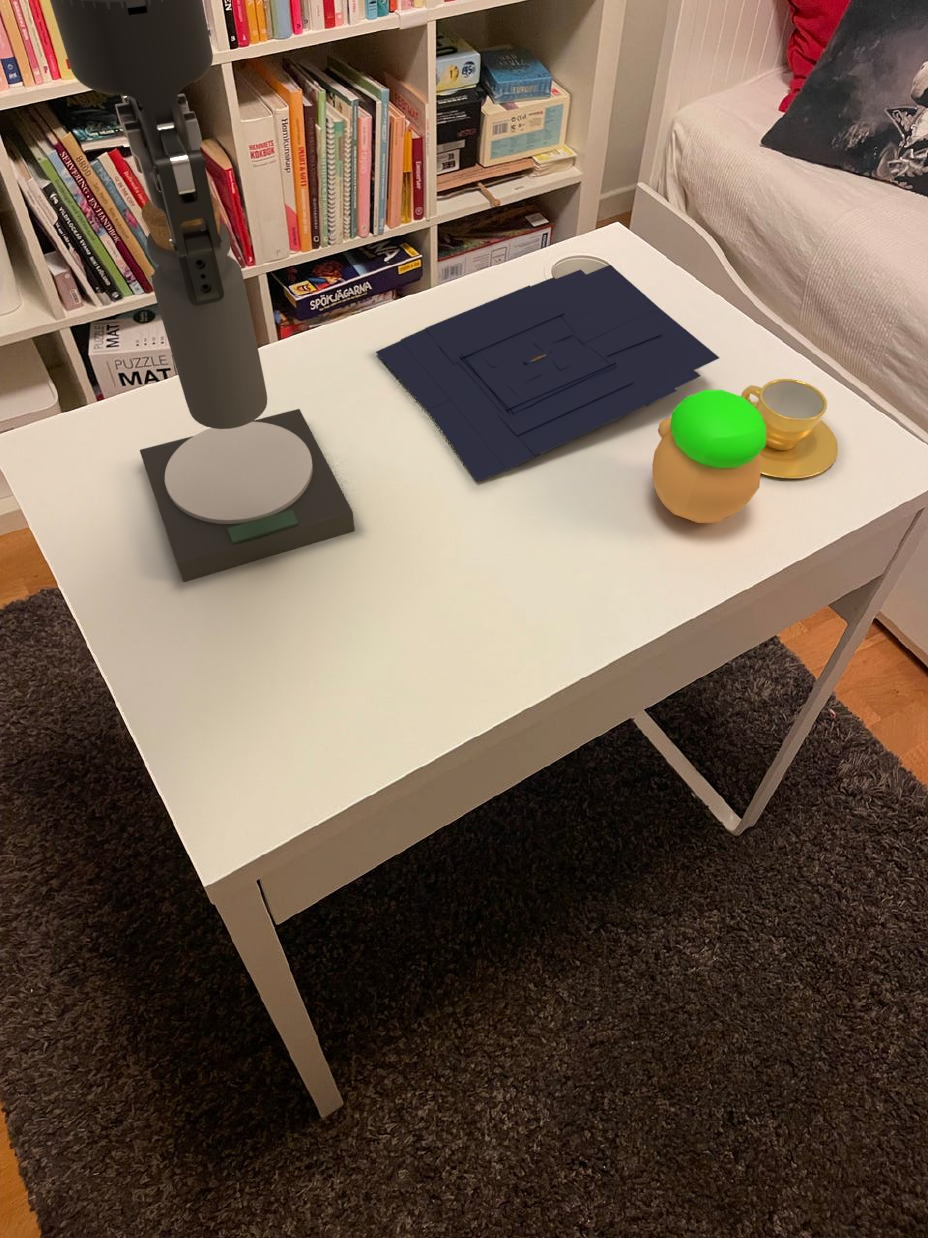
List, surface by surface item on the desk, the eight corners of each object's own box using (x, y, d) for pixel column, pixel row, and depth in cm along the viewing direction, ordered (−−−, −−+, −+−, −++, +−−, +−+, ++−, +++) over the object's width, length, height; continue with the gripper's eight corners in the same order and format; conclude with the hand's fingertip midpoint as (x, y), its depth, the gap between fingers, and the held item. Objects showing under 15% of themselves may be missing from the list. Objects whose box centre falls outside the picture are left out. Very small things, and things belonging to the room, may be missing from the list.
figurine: (764, 531, 83) (804, 430, 74) (670, 552, 82) (699, 451, 72) (709, 454, 90) (739, 352, 81) (621, 472, 88) (641, 370, 79)
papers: (727, 388, 95) (732, 360, 92) (481, 502, 89) (478, 476, 86) (600, 277, 108) (601, 249, 105) (378, 370, 102) (372, 343, 99)
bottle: (172, 404, 66) (112, 207, 55) (236, 370, 69) (191, 175, 57) (220, 441, 64) (167, 242, 52) (284, 404, 67) (247, 207, 55)
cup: (857, 438, 92) (876, 395, 88) (801, 498, 86) (819, 455, 82) (754, 389, 97) (768, 346, 93) (695, 443, 91) (707, 400, 87)
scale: (183, 582, 79) (174, 558, 76) (146, 469, 88) (137, 444, 85) (355, 530, 83) (352, 506, 80) (302, 427, 92) (298, 403, 89)
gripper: (26, -66, 48) (118, 233, 61) (62, 28, 40) (160, 349, 53) (165, -81, 50) (226, 212, 63) (227, 6, 42) (282, 321, 55)
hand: (195, 274), depth 58 cm, fingers closed on bottle, 5 cm apart
